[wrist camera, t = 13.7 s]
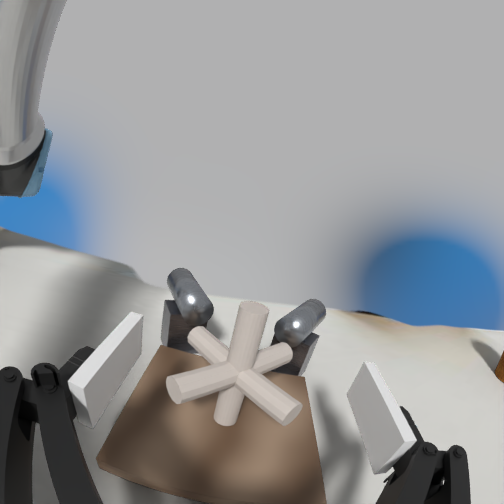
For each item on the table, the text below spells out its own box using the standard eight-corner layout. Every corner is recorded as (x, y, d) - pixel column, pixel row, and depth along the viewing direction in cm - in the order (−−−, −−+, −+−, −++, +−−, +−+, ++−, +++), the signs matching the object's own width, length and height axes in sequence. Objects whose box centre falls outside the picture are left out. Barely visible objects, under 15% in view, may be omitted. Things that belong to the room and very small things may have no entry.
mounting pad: (99, 468, 11) (95, 458, 11) (159, 355, 26) (160, 344, 26) (317, 510, 12) (326, 503, 11) (299, 387, 26) (304, 376, 26)
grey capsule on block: (207, 364, 27) (221, 297, 25) (170, 366, 25) (179, 296, 23) (188, 328, 33) (198, 269, 31) (157, 328, 31) (164, 266, 29)
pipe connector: (138, 394, 18) (143, 280, 16) (232, 368, 25) (255, 274, 23) (214, 490, 11) (252, 380, 9) (310, 429, 19) (359, 327, 16)
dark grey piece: (286, 392, 25) (313, 327, 23) (254, 374, 27) (274, 310, 25) (310, 363, 31) (333, 306, 29) (282, 350, 33) (301, 293, 31)
